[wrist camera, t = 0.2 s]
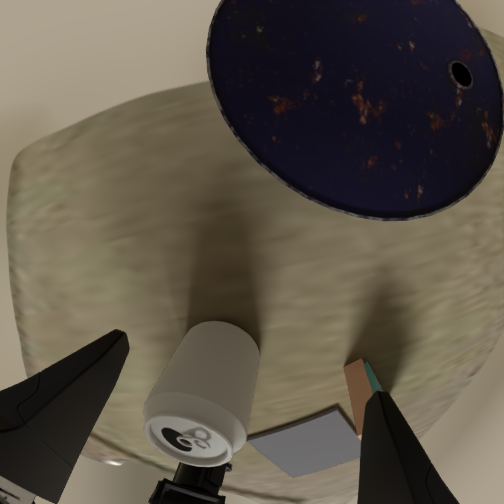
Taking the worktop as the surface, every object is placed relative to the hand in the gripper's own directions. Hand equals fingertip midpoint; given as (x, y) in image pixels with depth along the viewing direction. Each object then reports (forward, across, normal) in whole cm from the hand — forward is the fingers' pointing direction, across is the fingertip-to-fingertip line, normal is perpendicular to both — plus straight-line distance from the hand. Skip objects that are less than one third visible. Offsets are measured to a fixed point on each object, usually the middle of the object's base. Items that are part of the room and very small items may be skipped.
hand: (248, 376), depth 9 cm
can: (+12, +3, +14) cm, 19 cm away
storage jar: (+17, -1, -7) cm, 19 cm away
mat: (+10, -10, +27) cm, 30 cm away
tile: (+12, -13, +15) cm, 23 cm away
